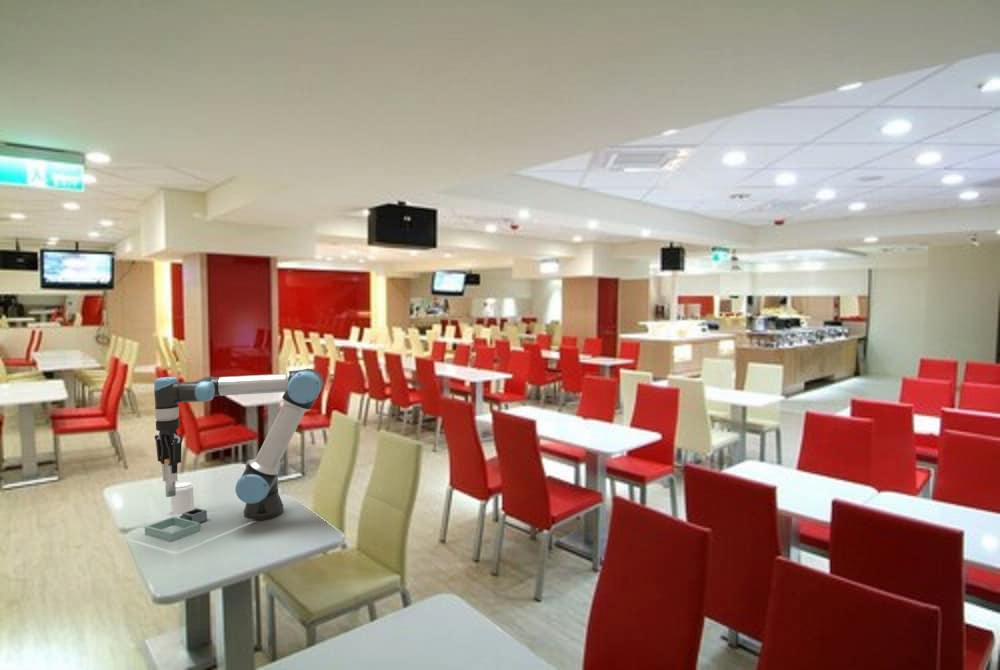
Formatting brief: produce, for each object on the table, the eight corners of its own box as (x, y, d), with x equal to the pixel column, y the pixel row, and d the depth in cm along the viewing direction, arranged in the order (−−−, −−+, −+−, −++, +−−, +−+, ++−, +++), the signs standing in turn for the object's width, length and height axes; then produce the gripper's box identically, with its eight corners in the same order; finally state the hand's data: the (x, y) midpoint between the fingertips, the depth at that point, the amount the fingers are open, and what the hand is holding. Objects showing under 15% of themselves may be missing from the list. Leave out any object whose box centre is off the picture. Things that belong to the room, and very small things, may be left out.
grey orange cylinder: (177, 494, 202) (176, 458, 202) (169, 497, 199) (167, 460, 199) (172, 493, 204) (170, 457, 203) (164, 496, 201) (162, 459, 200)
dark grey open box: (211, 522, 214) (210, 509, 214) (191, 529, 207) (191, 516, 206) (192, 517, 219) (191, 505, 219) (172, 524, 212) (171, 512, 212)
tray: (200, 532, 203) (200, 523, 203) (171, 544, 194) (171, 533, 194) (174, 526, 211) (173, 516, 211) (145, 536, 201) (144, 526, 201)
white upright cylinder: (198, 509, 229) (197, 481, 228) (185, 516, 221) (184, 487, 220) (180, 508, 230) (179, 481, 229) (167, 516, 221) (165, 487, 221)
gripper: (191, 418, 200) (193, 480, 201) (164, 415, 207) (167, 475, 208) (170, 422, 193) (173, 486, 194) (144, 419, 201) (147, 481, 202)
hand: (170, 480), depth 201 cm, fingers closed on grey orange cylinder, 3 cm apart
